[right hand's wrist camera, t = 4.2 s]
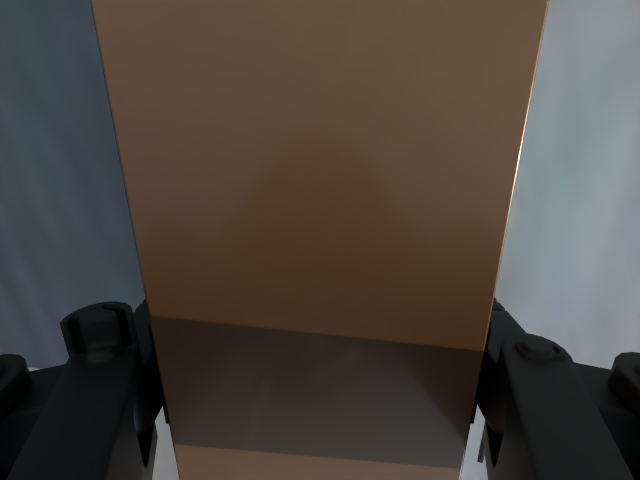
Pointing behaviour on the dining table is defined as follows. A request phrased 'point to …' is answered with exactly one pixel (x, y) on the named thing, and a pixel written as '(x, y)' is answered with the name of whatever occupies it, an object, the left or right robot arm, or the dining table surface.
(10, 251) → the dining table surface
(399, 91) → the post
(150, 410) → the right robot arm
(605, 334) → the dining table surface
